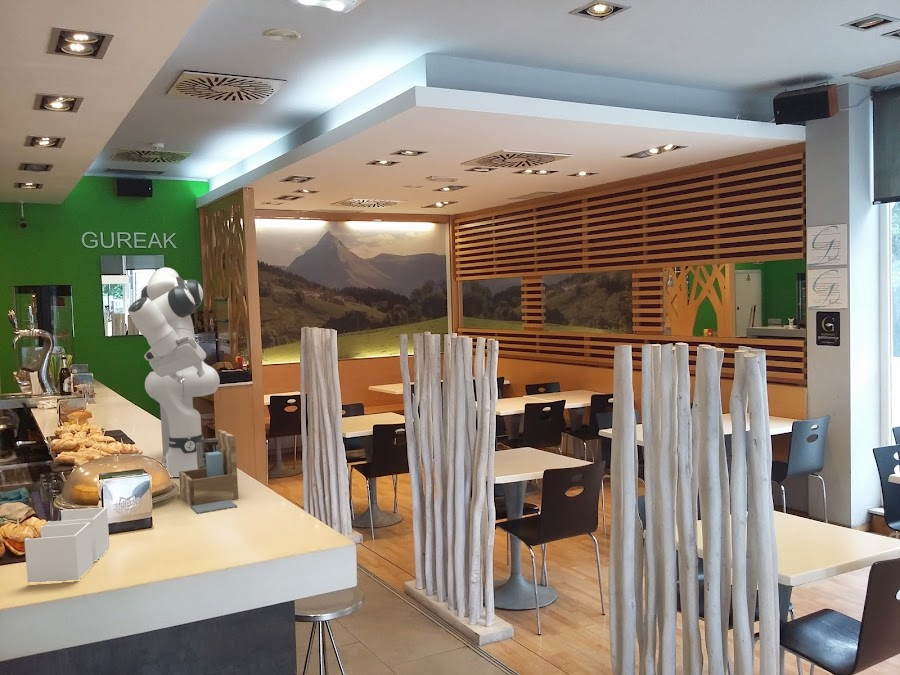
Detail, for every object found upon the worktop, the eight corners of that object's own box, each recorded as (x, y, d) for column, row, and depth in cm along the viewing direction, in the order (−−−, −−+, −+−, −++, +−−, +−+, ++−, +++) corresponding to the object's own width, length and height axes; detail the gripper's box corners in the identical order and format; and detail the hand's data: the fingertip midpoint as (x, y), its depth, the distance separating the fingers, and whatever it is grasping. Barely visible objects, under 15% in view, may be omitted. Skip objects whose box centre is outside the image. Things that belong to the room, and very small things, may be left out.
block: (207, 483, 262) (205, 452, 261) (219, 481, 264) (218, 451, 263) (211, 486, 257) (209, 455, 257) (223, 484, 259) (222, 453, 259)
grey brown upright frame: (231, 484, 277) (228, 437, 276) (224, 488, 271) (221, 441, 270) (205, 484, 278) (202, 438, 277) (197, 489, 272) (195, 441, 271)
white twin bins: (78, 582, 185) (75, 535, 185) (27, 587, 184) (24, 539, 183) (109, 548, 210) (107, 507, 209) (65, 552, 209) (62, 510, 208)
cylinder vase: (169, 462, 319) (165, 399, 318) (159, 457, 329) (155, 396, 328) (200, 457, 326) (196, 395, 325) (189, 453, 336) (186, 393, 335)
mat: (190, 507, 248) (190, 506, 248) (229, 501, 254) (229, 499, 254) (197, 513, 240) (197, 512, 240) (237, 507, 246) (237, 505, 246)
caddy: (180, 496, 263) (176, 435, 262) (225, 489, 270) (221, 429, 269) (191, 506, 249) (187, 442, 248) (238, 498, 256) (234, 436, 255)
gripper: (195, 330, 255) (219, 365, 259) (151, 347, 264) (176, 381, 269) (184, 340, 249) (209, 376, 254) (140, 358, 259) (165, 392, 264)
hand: (192, 379), depth 262 cm, fingers open, 8 cm apart
